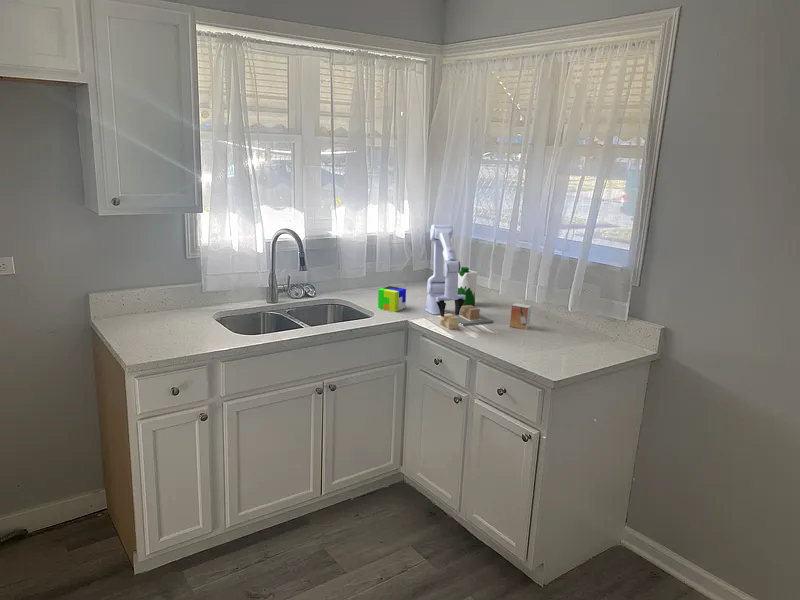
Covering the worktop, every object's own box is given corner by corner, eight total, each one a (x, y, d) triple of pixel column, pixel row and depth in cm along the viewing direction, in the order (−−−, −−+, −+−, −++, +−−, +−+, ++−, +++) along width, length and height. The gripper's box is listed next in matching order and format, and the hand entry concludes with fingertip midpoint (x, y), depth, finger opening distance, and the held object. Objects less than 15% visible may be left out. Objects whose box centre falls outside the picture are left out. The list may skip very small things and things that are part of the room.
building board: (447, 316, 296) (447, 314, 296) (475, 313, 303) (475, 311, 303) (464, 325, 282) (464, 323, 282) (493, 322, 289) (493, 320, 289)
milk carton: (453, 303, 321) (455, 266, 316) (466, 302, 326) (469, 265, 321) (464, 307, 314) (466, 269, 309) (477, 305, 319) (480, 268, 314)
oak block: (440, 324, 283) (440, 314, 282) (449, 323, 286) (450, 313, 284) (448, 329, 276) (449, 318, 275) (458, 328, 279) (458, 317, 277)
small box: (509, 327, 283) (511, 305, 281) (513, 324, 288) (514, 302, 285) (526, 329, 280) (528, 307, 277) (529, 326, 284) (531, 305, 282)
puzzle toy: (405, 308, 310) (406, 288, 307) (394, 312, 302) (395, 292, 299) (389, 304, 315) (389, 286, 312) (378, 308, 307) (378, 289, 304)
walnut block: (461, 315, 295) (461, 305, 293) (470, 314, 297) (470, 305, 296) (470, 320, 288) (470, 310, 286) (479, 319, 290) (479, 309, 289)
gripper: (441, 289, 270) (440, 319, 273) (469, 287, 276) (467, 316, 279) (433, 286, 276) (432, 315, 279) (461, 284, 282) (459, 312, 286)
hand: (449, 315), depth 280 cm, fingers open, 7 cm apart
